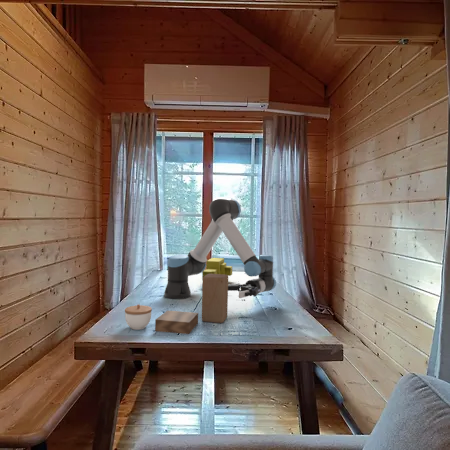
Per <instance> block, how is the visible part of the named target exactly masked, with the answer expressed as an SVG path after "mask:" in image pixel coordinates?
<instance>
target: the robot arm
mask: <svg viewBox="0 0 450 450" xmlns="http://www.w3.org/2000/svg"><path fill="white" fill-rule="evenodd" d="M208 211H209V216H210V218H211V219H212V220H211V222H210V223H209V225H208V227H207V228H206V229H205V231H204V233H203V235H202V236H201V237H200V240H199V241H198V243H197V244H196V246H195V247H194V249H190V250H189V252H188V254H174V255H171V256H169V257H168V261H167V284H166V287H165V289H164V295H163V297H165V298H167V299H175V300H177V299H179V300H180V299H187V298H190V297H191V295H192V293H191V289H190V285H189V276H190V277H191V276H195V275H199V274H202V272H203V271H204V270H206V264H207V261H208V259H207V257H208V255H209V253H210V251H211V250H212V248H213V247H214V246H215V244H216V242H217V241H218V239H219V237H220V236H221V235H222V233H223V234H224V236H225V238H226V239H227V241H228V242H229V243H230V245H231V246H232V248H233V250H234V251H235V253H236V254H237V256H238V257H239V259H240V260H241V262H242V263H243V265H244V267H243V269H244V273H245V274H246V276H248V277H258V278H253V279H249V280H247V281H246V282H245V283H242V284H241V283H239V282H238V283H232V284H231V283H228V292H229V291H234V292H235V291H236V292H237V291H238V299H242V298H247V297H252V296H253V297H257V295H259V294H260V293H261V294H262V293H265V292H269V291H272V290H274V289H275V288H276V286H277V281H276V278H275V277H274V276H273V273H274V272H273V271H274V257H273V255H271V254H260V255H259V256H258V257H257V255H256V254H255V252H254V251H253V249H252V248H251V246H250V245H249V243H248V242H247V241H246V238H245V237H244V236H243V234H242V233H241V231H240V229H239V228H238V227H237V225H236V224H235V222H234V220H236V219H237V218H239V217H240V215H241V212H242V207H241V204H240V202H238V200H236V199H233V198H226V197H216V198H214V199H213V200H212V201H211V202H210V203H209V208H208Z"/></svg>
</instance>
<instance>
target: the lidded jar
mask: <svg viewBox="0 0 450 450" xmlns="http://www.w3.org/2000/svg"><path fill="white" fill-rule="evenodd" d="M152 310H153V309H152V306H149V305H143V304H140V303H137V305H131V306H127V307H126V308H124V317H125V322H126V324H127V325H128V326H129V328H130V329H131V330H133V331H134V330H138V331H139V330H143V329H146V327H147V326H148V325H149V324H150V322H151V319H152Z"/></svg>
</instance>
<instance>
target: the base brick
mask: <svg viewBox="0 0 450 450" xmlns="http://www.w3.org/2000/svg"><path fill="white" fill-rule="evenodd" d="M154 324H155V325H154V327H155V328H154V331H155V332H162V333H171V334H172V333H173V334H183V335H184V334H185V335H190V334H191V333H192V331H193V330H194V329H195V328H196V327H197V326H198V324H199V312H191V311H178V310H169V309H168V310H166V311H165V312H163V313H162V314H161V315H159V316H158V317H157V318H155V323H154Z"/></svg>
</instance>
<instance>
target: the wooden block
mask: <svg viewBox="0 0 450 450" xmlns="http://www.w3.org/2000/svg"><path fill="white" fill-rule="evenodd" d="M228 284H229V276H228V275H224V274H207V275H206V276H204V277H203V280H202V288H201V289H202V292H201V293H202V294H201V321H202V322H206V323H215V324H216V323H218V324H223V323H224V322H225V321H226V319H227V317H228V306H229V305H228V303H229V302H228V299H229V291H228Z"/></svg>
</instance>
